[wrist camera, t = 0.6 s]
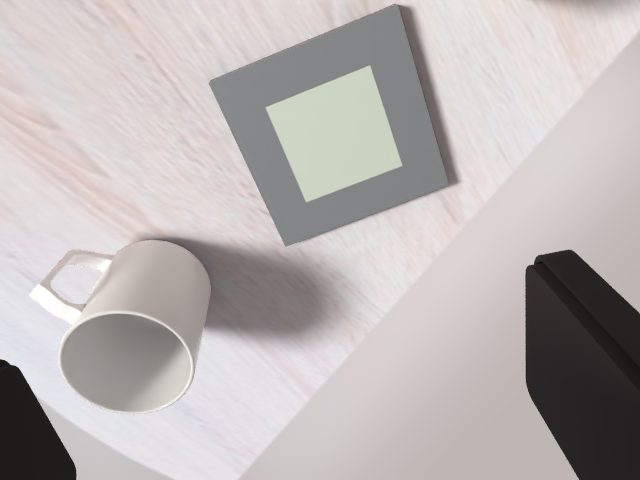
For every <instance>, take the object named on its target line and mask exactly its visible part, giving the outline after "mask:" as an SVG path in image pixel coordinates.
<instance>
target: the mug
mask: <svg viewBox="0 0 640 480" xmlns="http://www.w3.org/2000/svg"><path fill="white" fill-rule="evenodd" d="M67 265H76V266H83V267H89V268H95V269H99V270H101V271H102V273H101V274H100V276H99V278H98V279H97V281H96V283H95V284H94V286H93V288H92V289H91V291H90V293H89V295H88V296H87V298H86V300H85V301H84V303H83V304H73V303H70V302H68V301H66V300H65V299H63V298H62V297H60V296H59V295H58V294H57V293H55V292H54V291H53V289H52V288H51V285H50V282H51V281H52V280H53V278H54V277H55V276H56V275H57V274H58V273H59V271H60V270H61V269H62V268H63V267H65V266H67ZM29 296H30V297H31V298H33V299H34V300H36V301H37V302H38V303H39V304H41V305H42V306H43V307H44V308H45V309H46V310H47V311H49V312H50V313H51V314H53V315H54V316H56V317H58V318H61V319H64V320H66V321H68V322H69V323H70V324H71V325H70V327H69V328H68V330H67V332H66V333H65V335H64V337H63V338H62V341H61V343H60V346H59V351H58V363H59V368H60V371H61V374H62V376H63V378H64V380H65V381H66V383H67V384H68V385H69V387H70V388H71V389H72V390H73V391H74V392H75V393H76V394H77V395H78V396H79V397H81V398H82V399H84V400H85V401H87V402H88V403H90V404H92V405H94V406H96V407H98V408H101V409H103V410H107V411H110V412H114V413H120V414H133V415H134V414H146V413H151V412H155V411H158V410H161V409H164V408H166V407H168V406H170V405H172V404H173V403H175V402H176V401H178V400H179V399H180V398H181V397H182V396H183V395H184V394H185V393H186V391H187V390H188V388H189V387H190V385H191V383H192V380H193V377H194V373H195V368H196V364H197V359H198V354H199V349H200V345H201V340H202V335H203V330H204V326H205V321H206V316H207V311H208V307H209V302H210V296H211V284H210V279H209V276H208V274H207V271H206V270H205V268H204V266H203V265H202V263H201V262H200V261H199V260H198V259H197V258H196V257H195V256H194V255H193V254H192V253H191V252H189V251H188V250H186V249H185V248H183V247H181V246H179V245H176V244H174V243H171V242H167V241H161V240H145V241H139V242H135V243H132V244H130V245H127V246H125V247H124V248H122V249H120V250H119V251H118V252H116V253H115V254H114V255H107V254H100V253H95V252H90V251H85V250H79V249H75V250H70V251H69V252H67V253H66V254H65V256H64V257H63V258H62V259H61V260H60V261H59V262H58V264H57V265H56V266H55V267H54V268H53V269H52V270H51V272H50V273H49V274H48V275H47V276H46V277H45V278H44V280H42V281H41V282H40V283H39V284H38V285H37V286H36V287H35V289H34V290H33V291H32V292H31V293H30V295H29Z"/></svg>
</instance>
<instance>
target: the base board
mask: <svg viewBox="0 0 640 480" xmlns="http://www.w3.org/2000/svg"><path fill="white" fill-rule="evenodd" d="M209 85H210V87H211V89H212V91H213V93H214V95H215V98H216V100H217V102H218V104H219V106H220V108H221V110H222V113H223V115H224V117H225V119H226V121H227V123H228V125H229V127H230V130H231V132H232V134H233V136H234V138H235V140H236V142H237V144H238V147H239V149H240V151H241V153H242V155H243V157H244V159H245V162H246V164H247V166H248V168H249V170H250V172H251V174H252V176H253V179H254V181H255V183H256V185H257V187H258V189H259V191H260V193H261V196H262V198H263V200H264V202H265V204H266V206H267V208H268V210H269V213H270V215H271V217H272V219H273V221H274V223H275V225H276V228H277V230H278V232H279V234H280V236H281V238H282V240H283V242H284V245H285V247H286V246H289V245H291V244H294V243H297V242H299V241H302V240H305V239H307V238H310V237H313V236H315V235H318V234H321V233H323V232H326V231H329V230H331V229H334V228H337V227H339V226H342V225H345V224H348V223H350V222H353V221H356V220H358V219H361V218H364V217H366V216H369V215H372V214H374V213H377V212H380V211H382V210H385V209H388V208H390V207H393V206H396V205H398V204H401V203H404V202H407V201H409V200H412V199H415V198H417V197H420V196H423V195H425V194H428V193H431V192H433V191H436V190H439V189H441V188H444V187H447V186H449V183H448V179H447V176H446V172H445V169H444V165H443V162H442V158H441V155H440V151H439V148H438V144H437V141H436V137H435V134H434V130H433V126H432V123H431V119H430V116H429V112H428V109H427V105H426V102H425V98H424V95H423V91H422V88H421V84H420V80H419V77H418V73H417V70H416V66H415V63H414V59H413V56H412V52H411V49H410V45H409V42H408V38H407V35H406V31H405V27H404V24H403V20H402V17H401V13H400V10H399V6H398V5H396V4H394V5H391V6H389V7H386V8H384V9H382V10H379V11H377V12H374V13H372V14H370V15H367V16H365V17H362V18H360V19H358V20H355V21H353V22H350V23H348V24H345V25H343V26H341V27H338V28H336V29H333V30H331V31H329V32H326V33H324V34H321V35H319V36H316V37H314V38H312V39H309V40H307V41H304V42H302V43H300V44H297V45H295V46H292V47H290V48H288V49H285V50H283V51H280V52H278V53H275V54H273V55H271V56H268V57H266V58H263V59H261V60H259V61H256V62H254V63H251V64H249V65H246V66H244V67H242V68H239V69H237V70H234V71H232V72H230V73H227V74H225V75H222V76H220V77H218V78H215V79H213V80H211V81H210V82H209Z"/></svg>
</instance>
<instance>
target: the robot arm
mask: <svg viewBox="0 0 640 480" xmlns="http://www.w3.org/2000/svg"><path fill="white" fill-rule="evenodd" d="M526 384H527V388H528V392H529V394H530V397H531V399H532V401H533V402H534V404H535V406H536V407H537V409H538V411H539V412H540V414H541V416H542V417H543V419H544V421H545V423H546V424H547V426H548V428H549V429H550V431H551V433H552V434H553V436H554V438H555V439H556V441H557V443H558V445H559V446H560V448H561V450H562V451H563V453H564V454H565V456H566V458H567V460H568V461H569V463H570V465H571V466H572V468H573V469H574V472H575V473H576V475H577V477H578V478H579V480H640V314H639V312H638V311H637V310H635V309H634V308H633V307H632V306H631V305H630V304H629V303H628V302H627V301H626V300H625V299H624V298H623V297H622V296H621V295H620V294H618V293H617V292H616V291H615V290H614V289H613V288H612V287H611V286H610V285H609V284H608V283H607V282H606V281H605V280H604V279H603V278H602V277H600V276H599V275H598V274H597V273H596V272H595V271H594V270H593V269H592V268H591V267H590V266H589V265H588V264H587V263H586V262H584V260H583V259H582V258H580V257H579V256H578V255H577V254H576V253H575V252H574V251H572V250H565V251H559V252H554V253H549V254H544V255H538V256H537V257H536V259H535V262H534V265H529V266H528V267H527V269H526ZM0 480H76V468H75V465H74V462H73V461H72V459H71V457H70V455H69V454H68V452H67V450H66V449H65V447H64V445H63V443H62V442H61V440H60V438H59V436H58V435H57V433H56V431H55V429H54V428H53V426H52V424H51V423H50V421H49V419H48V417H47V416H46V414H45V412H44V411H43V409H42V407H41V405H40V403H39V402H38V400H37V398H36V397H35V395H34V393H33V391H32V390H31V388H30V386H29V384H28V383H27V381H26V379H25V378H24V376H23V374H22V372H21V371H20V369H19V368H18V367H16V366H14V365H10V364H9V363H8V362H7V361H5V360H0Z"/></svg>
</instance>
